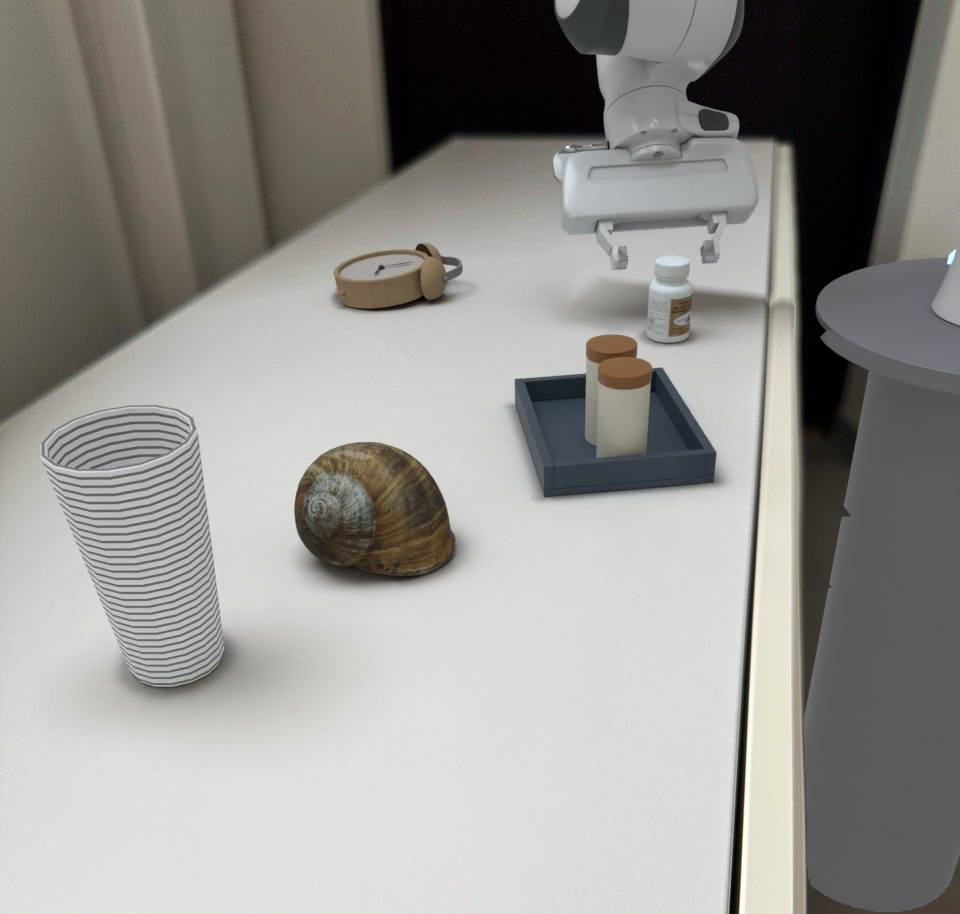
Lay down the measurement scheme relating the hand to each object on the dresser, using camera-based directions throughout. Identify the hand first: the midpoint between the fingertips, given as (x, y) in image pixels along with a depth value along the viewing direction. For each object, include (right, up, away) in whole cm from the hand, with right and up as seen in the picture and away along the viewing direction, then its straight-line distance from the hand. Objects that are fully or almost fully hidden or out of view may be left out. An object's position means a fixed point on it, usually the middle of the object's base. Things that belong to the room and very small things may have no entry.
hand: (665, 264), depth 107 cm
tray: (-8, -21, -17) cm, 28 cm away
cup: (-38, -40, -40) cm, 68 cm away
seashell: (-26, -32, -30) cm, 51 cm away
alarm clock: (-28, +2, +17) cm, 33 cm away
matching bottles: (-8, -23, -19) cm, 31 cm away
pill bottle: (+1, -7, +2) cm, 7 cm away
